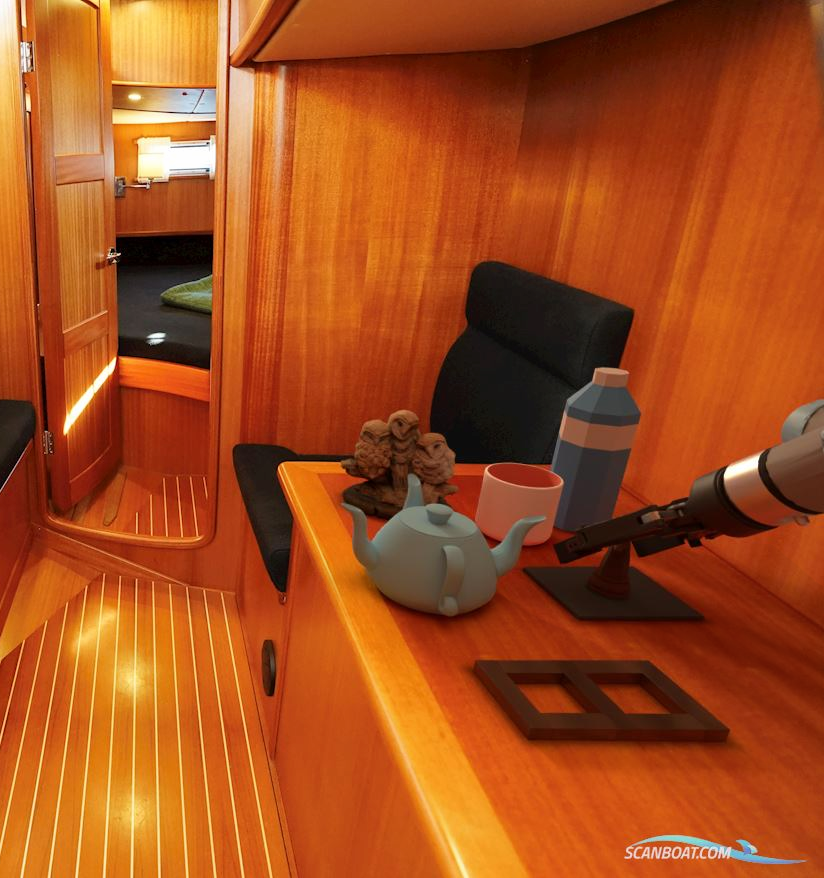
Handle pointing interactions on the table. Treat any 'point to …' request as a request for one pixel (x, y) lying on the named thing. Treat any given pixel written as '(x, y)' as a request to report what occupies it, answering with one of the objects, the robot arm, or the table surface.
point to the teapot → (435, 555)
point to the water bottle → (594, 449)
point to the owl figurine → (398, 465)
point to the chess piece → (612, 573)
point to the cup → (518, 500)
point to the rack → (598, 701)
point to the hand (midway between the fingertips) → (597, 551)
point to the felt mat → (586, 605)
